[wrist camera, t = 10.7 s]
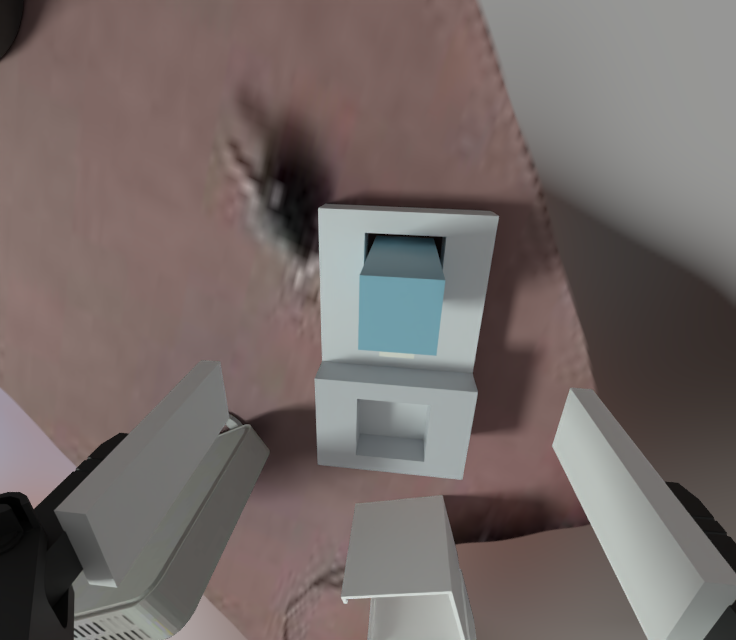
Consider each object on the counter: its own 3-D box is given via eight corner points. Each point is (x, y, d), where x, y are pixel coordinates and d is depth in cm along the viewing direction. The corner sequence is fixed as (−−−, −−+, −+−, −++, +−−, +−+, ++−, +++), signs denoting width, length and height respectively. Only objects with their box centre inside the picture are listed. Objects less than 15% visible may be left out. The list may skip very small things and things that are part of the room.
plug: (376, 235, 33) (359, 275, 22) (433, 238, 32) (445, 280, 21) (374, 300, 35) (357, 365, 24) (426, 304, 35) (434, 371, 24)
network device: (250, 394, 41) (123, 582, 23) (291, 450, 44) (207, 657, 26) (95, 459, 48) (-95, 643, 30) (139, 504, 51) (-11, 697, 33)
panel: (326, 203, 32) (308, 213, 26) (491, 210, 31) (508, 222, 25) (329, 424, 42) (317, 464, 36) (455, 436, 41) (462, 479, 35)
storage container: (473, 617, 54) (487, 722, 44) (399, 620, 56) (397, 720, 46) (442, 493, 45) (451, 591, 35) (355, 502, 47) (340, 596, 37)
